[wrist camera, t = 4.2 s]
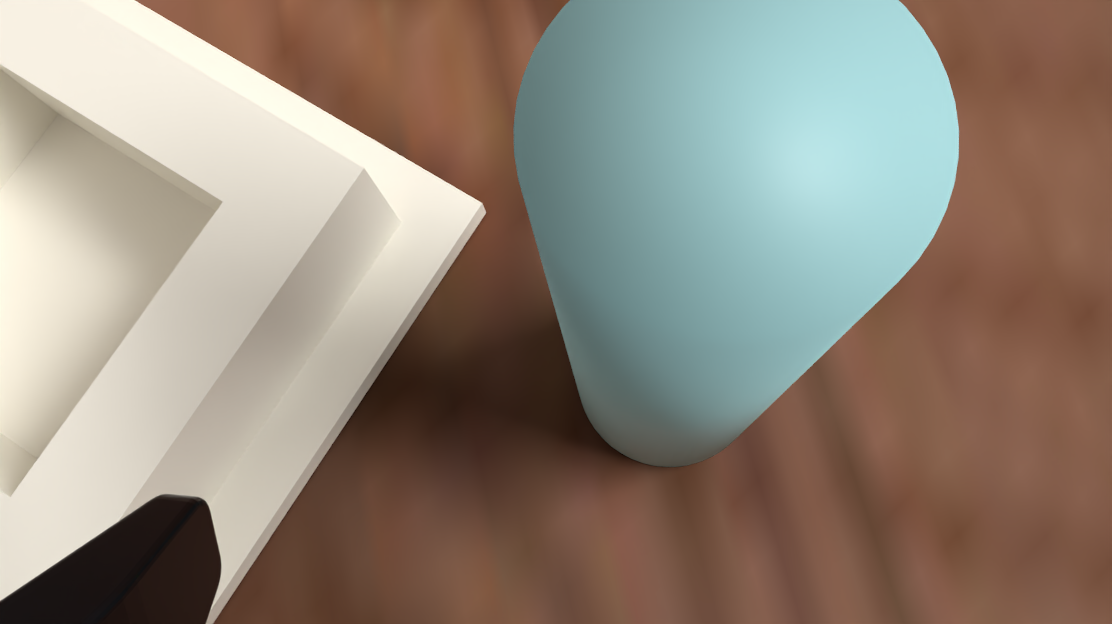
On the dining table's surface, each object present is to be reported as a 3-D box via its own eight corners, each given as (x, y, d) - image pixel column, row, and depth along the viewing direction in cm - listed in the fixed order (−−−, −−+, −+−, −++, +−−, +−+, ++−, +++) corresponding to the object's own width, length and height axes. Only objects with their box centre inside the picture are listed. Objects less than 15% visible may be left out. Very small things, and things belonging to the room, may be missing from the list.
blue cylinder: (700, 502, 19) (822, 432, 7) (543, 405, 20) (429, 201, 8) (792, 346, 20) (1036, 55, 8) (636, 257, 20) (656, -133, 9)
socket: (143, 727, 19) (34, 768, 15) (-294, 398, 21) (-477, 369, 17) (485, 212, 21) (458, 145, 17) (54, -40, 23) (-49, -146, 19)
